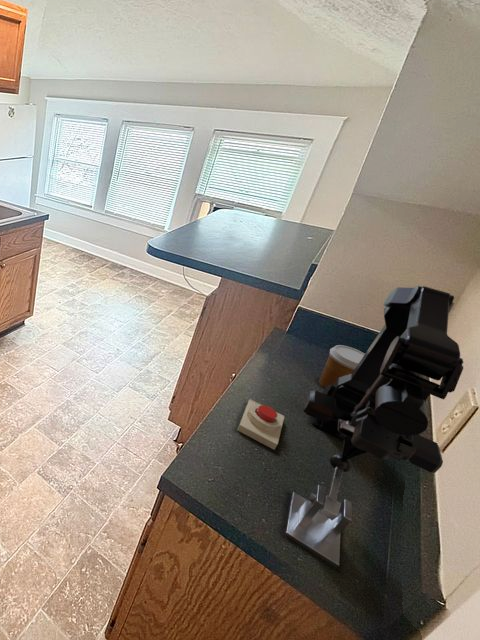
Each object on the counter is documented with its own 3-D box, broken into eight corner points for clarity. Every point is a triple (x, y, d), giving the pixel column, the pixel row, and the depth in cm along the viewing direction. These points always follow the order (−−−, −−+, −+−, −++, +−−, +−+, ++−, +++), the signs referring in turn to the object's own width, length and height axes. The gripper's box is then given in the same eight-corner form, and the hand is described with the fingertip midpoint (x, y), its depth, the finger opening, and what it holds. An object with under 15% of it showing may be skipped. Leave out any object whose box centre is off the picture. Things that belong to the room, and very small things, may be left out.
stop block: (246, 405, 102) (252, 394, 100) (280, 422, 97) (287, 410, 95) (236, 431, 93) (242, 419, 91) (273, 451, 89) (281, 439, 87)
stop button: (257, 407, 96) (260, 402, 95) (275, 416, 94) (278, 411, 93) (254, 416, 93) (257, 411, 92) (273, 425, 91) (276, 420, 90)
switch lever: (328, 454, 78) (335, 448, 75) (348, 464, 76) (356, 458, 74) (313, 510, 71) (320, 505, 69) (334, 523, 69) (342, 517, 67)
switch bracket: (290, 495, 79) (310, 468, 75) (338, 522, 75) (362, 495, 71) (283, 535, 72) (305, 508, 67) (336, 569, 67) (362, 541, 63)
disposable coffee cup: (312, 371, 117) (332, 339, 112) (351, 386, 112) (373, 354, 107) (311, 386, 111) (331, 354, 105) (352, 404, 106) (376, 371, 100)
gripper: (322, 394, 66) (283, 453, 74) (475, 461, 56) (412, 522, 63) (325, 365, 74) (290, 421, 81) (461, 419, 64) (406, 478, 71)
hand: (344, 457), depth 74 cm, fingers closed, pressing on switch lever
